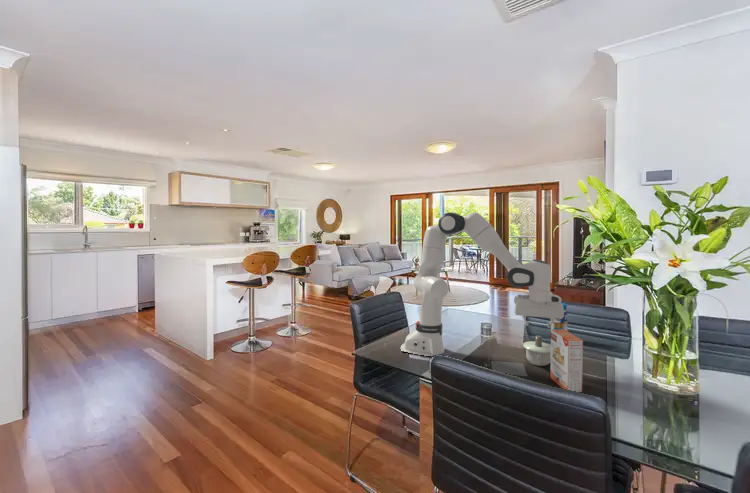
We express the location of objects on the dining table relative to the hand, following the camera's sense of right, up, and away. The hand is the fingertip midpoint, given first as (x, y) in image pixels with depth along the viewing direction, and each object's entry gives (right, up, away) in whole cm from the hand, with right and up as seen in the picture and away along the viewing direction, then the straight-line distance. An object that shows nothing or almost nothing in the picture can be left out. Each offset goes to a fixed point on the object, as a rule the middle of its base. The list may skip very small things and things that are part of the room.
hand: (537, 326), depth 159 cm
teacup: (+1, -18, +1) cm, 18 cm away
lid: (+1, -10, +1) cm, 10 cm away
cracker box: (+2, -19, -20) cm, 28 cm away
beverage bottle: (+29, -16, +36) cm, 49 cm away
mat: (-14, -18, -3) cm, 23 cm away
